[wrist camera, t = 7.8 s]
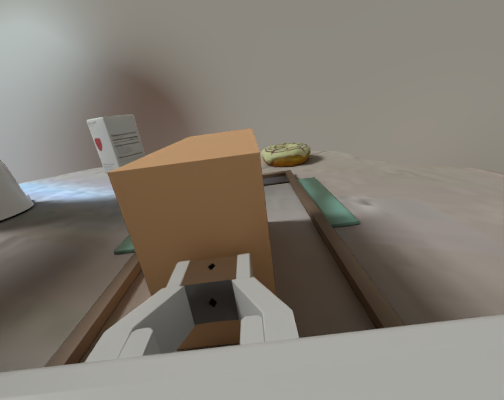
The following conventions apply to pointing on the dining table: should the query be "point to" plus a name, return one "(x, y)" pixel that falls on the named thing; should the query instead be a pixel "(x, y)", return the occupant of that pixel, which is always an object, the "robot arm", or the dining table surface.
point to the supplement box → (116, 140)
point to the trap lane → (324, 218)
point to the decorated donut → (286, 154)
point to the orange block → (197, 213)
